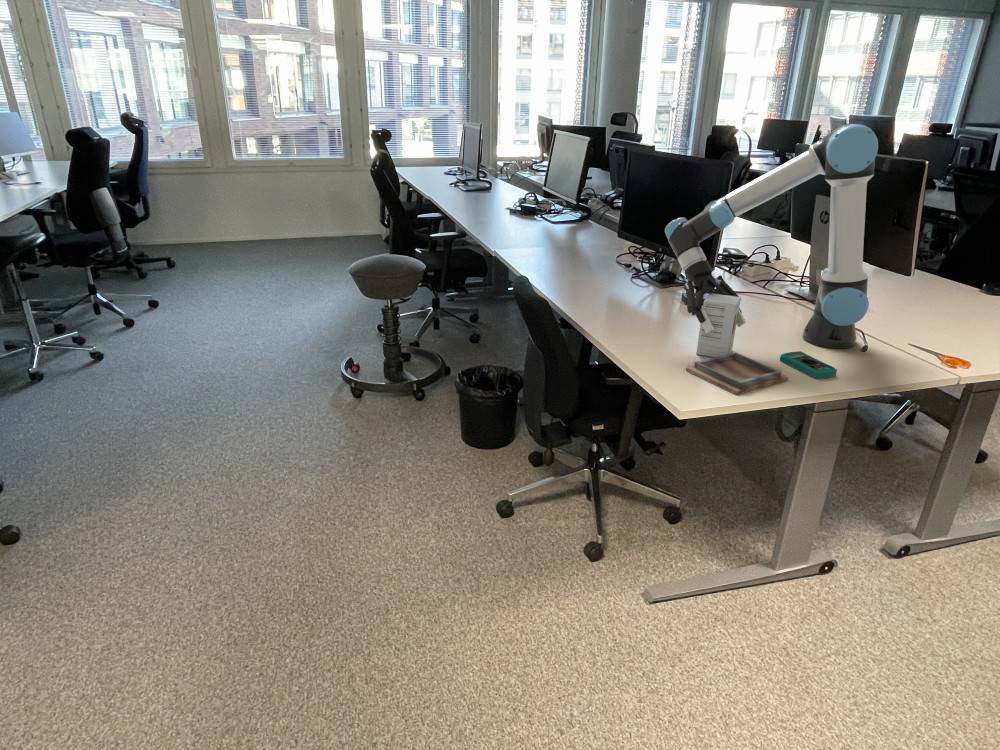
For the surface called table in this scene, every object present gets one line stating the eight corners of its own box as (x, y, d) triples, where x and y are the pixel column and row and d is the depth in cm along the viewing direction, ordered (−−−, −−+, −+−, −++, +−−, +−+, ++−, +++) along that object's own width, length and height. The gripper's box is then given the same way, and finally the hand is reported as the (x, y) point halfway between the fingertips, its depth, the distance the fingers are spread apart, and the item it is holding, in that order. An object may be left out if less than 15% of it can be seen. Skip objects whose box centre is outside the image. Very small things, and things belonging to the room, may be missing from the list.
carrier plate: (736, 358, 186) (737, 350, 185) (788, 380, 172) (789, 371, 171) (685, 370, 177) (686, 362, 176) (736, 394, 163) (737, 385, 162)
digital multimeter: (816, 381, 173) (818, 371, 171) (778, 361, 185) (779, 352, 184) (837, 378, 175) (839, 368, 174) (798, 358, 188) (800, 349, 186)
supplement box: (727, 360, 185) (736, 304, 178) (695, 354, 189) (703, 300, 182) (732, 349, 193) (741, 296, 186) (701, 344, 197) (709, 292, 190)
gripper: (716, 268, 200) (747, 327, 194) (657, 277, 189) (687, 340, 183) (732, 254, 193) (764, 315, 187) (671, 263, 182) (703, 328, 176)
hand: (726, 328), depth 185 cm, fingers closed on supplement box, 12 cm apart
